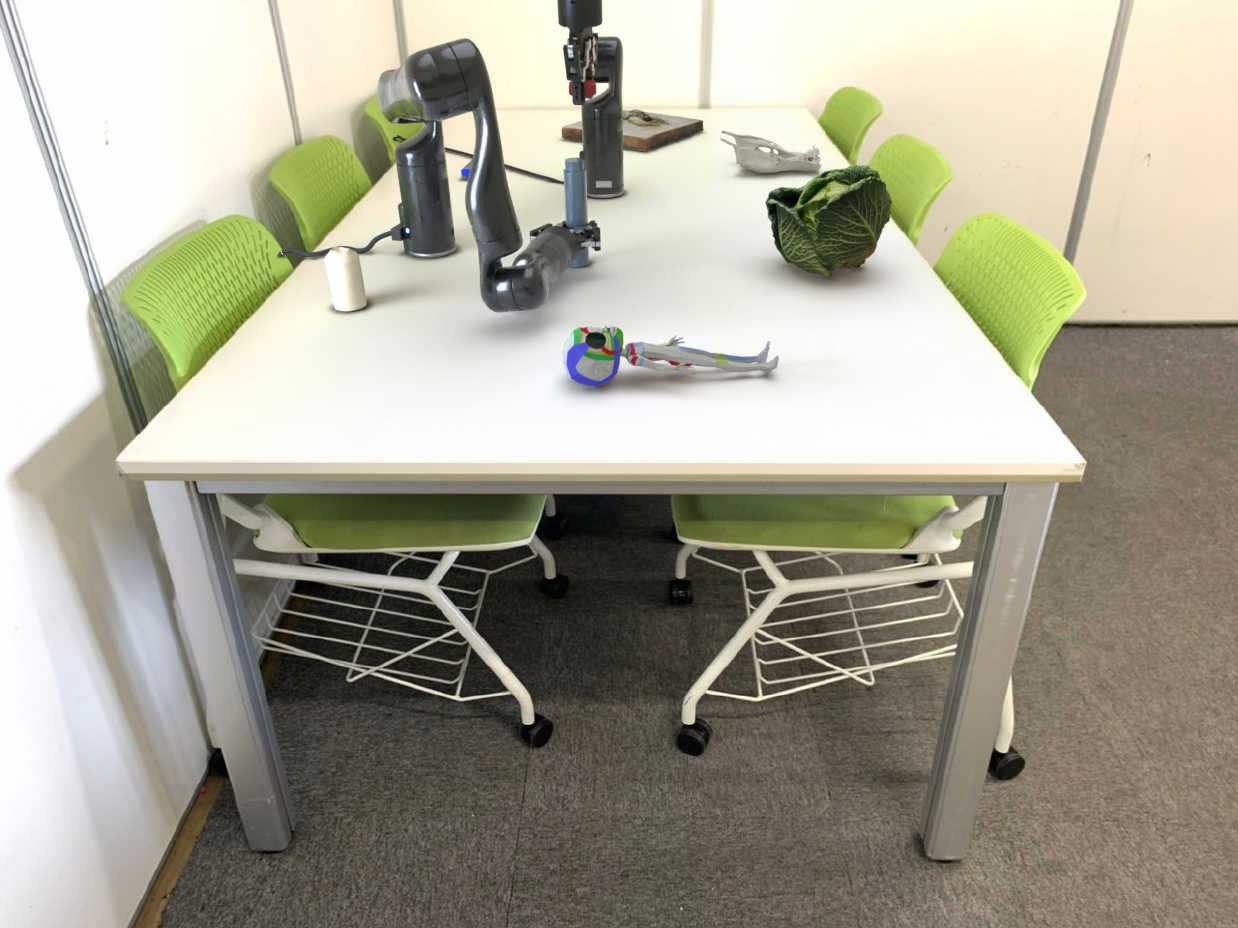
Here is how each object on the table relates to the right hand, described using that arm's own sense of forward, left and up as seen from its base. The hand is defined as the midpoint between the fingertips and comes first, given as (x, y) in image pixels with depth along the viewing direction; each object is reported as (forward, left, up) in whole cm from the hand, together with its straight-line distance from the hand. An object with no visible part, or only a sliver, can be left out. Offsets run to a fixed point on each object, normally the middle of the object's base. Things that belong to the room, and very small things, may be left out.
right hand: (583, 101), depth 160 cm
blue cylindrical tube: (+1, -6, -28) cm, 29 cm away
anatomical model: (+11, +73, -28) cm, 78 cm away
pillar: (-57, +43, -28) cm, 76 cm away
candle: (-23, -41, -28) cm, 55 cm away
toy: (+37, -41, -28) cm, 62 cm away
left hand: (+1, -3, -21) cm, 22 cm away
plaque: (-38, +93, -28) cm, 105 cm away
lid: (0, 0, +3) cm, 3 cm away
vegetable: (+44, +11, -28) cm, 53 cm away
